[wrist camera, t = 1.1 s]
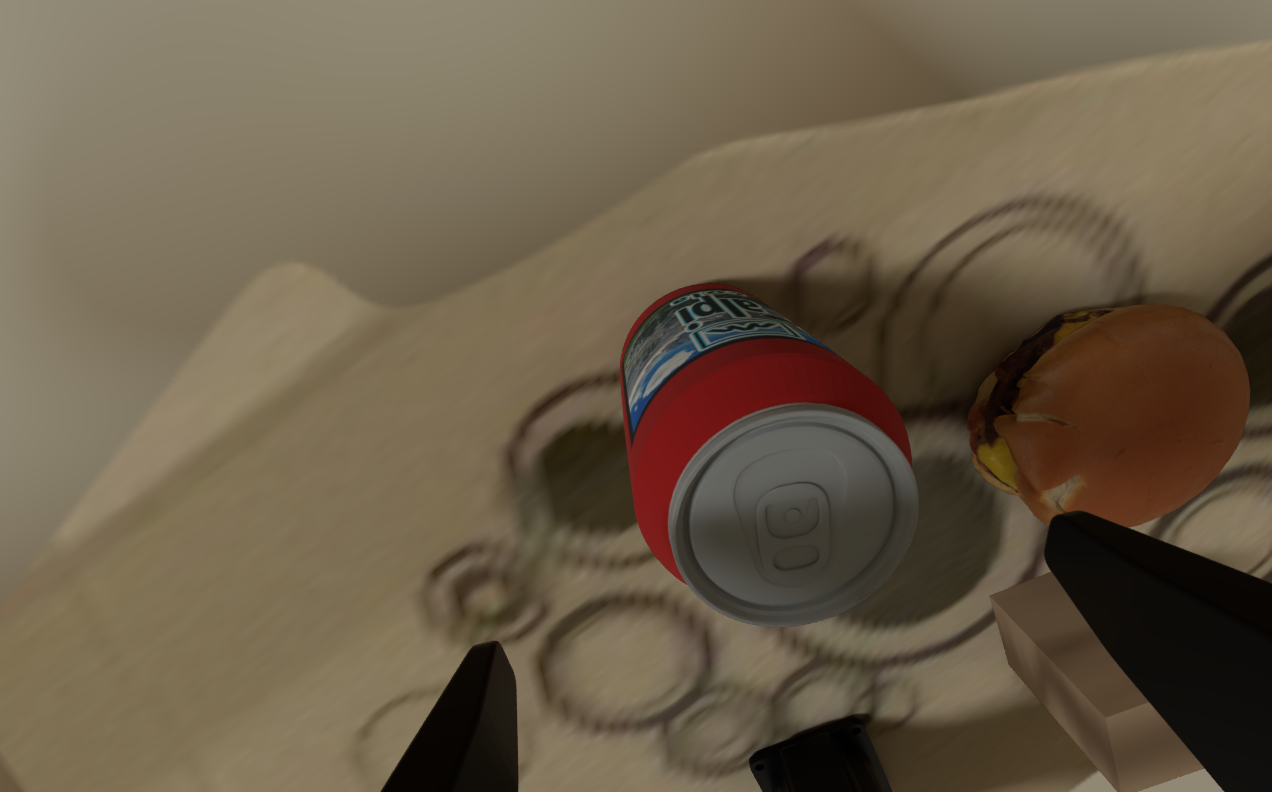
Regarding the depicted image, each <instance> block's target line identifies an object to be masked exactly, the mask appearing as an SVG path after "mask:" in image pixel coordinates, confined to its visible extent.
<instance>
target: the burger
mask: <svg viewBox="0 0 1272 792" xmlns="http://www.w3.org/2000/svg"><path fill="white" fill-rule="evenodd" d="M1249 404H1250V385H1249V378H1248V373H1247V370H1246V367H1245V365H1244V362H1243V359H1242V356H1241V353H1240V352H1239V350H1238V349H1237V348H1236V346H1235V345H1234V344H1233V342H1232V341H1231V340H1230V338H1229V337H1228V336H1227V334H1226V333H1225V332H1224V331H1223V330H1222V329H1220V328H1219V327H1218V326H1216V325H1215V324H1213V323H1212V322H1211V321H1209V320H1208V319H1207V318H1205V317H1204V316H1202V315H1201V314H1198V313H1196V312H1193V311H1190V310H1188V309H1185V308H1182V307H1176V306H1169V305H1163V304H1149V305H1131V306H1129V307H1116V308H1114V309H1113V308H1103V309H1095V310H1086V311H1080V312H1074V313H1067V314H1063V315H1059V316H1056V317H1055V318H1053V319H1052V320H1051V321H1049V322H1048V323H1047V324H1045V325H1044V326H1043V327H1041V328H1040V329H1038V330H1037V331H1036V332H1035V333H1034V334H1033V335H1032V336H1031V337H1030V338H1029V339H1028V340H1024V341H1023V342H1022V344H1021V345H1020V346H1019V347H1018V348H1017V349H1016V350H1015V351H1013V352H1011V353H1010V354H1009V355H1008V356H1007V357H1006V358H1005V359H1004V360H1003V361H1002V362H1001V363H1000V364H999V365H998V366H997V367H996V368H995V371H994V372H992V373H991V374H990V375H989V376H988V377H987V378H986V379H985V380H984V382H983V383H982V384H981V386H980V387H979V388H978V396H977V399H976V402H975V404H974V405H973V406H972V407H971V409H970V412H969V415H968V420H967V430H968V431H970V432H971V434H970V446H971V450H972V451H973V452H972V455H971V457H972V462H973V464H974V466H975V467H976V469H977V471H978V472H979V473H980V475H981V476H982V477H983V478H984V479H985V480H986V481H988V482H989V483H990V484H992V485H993V486H995V487H997V488H999V489H1001V490H1003V491H1004V492H1006V493H1009V494H1012V495H1017V496H1019V497H1020V498H1021V499H1022V500H1023V501H1024V503H1025V504H1026V505H1027V506H1028V507H1029V509H1030V510H1031V511H1032V513H1033V514H1034V516H1035V517H1037V518H1038V519H1039V520H1040V521H1042V522H1043V523H1045V524H1047V525H1050V521H1051V519H1052V518H1053V517H1054V516H1055V515H1058V514H1062V513H1067V512H1071V511H1076V510H1081V511H1085V512H1088V513H1091V514H1094V515H1096V516H1099V517H1101V518H1104V519H1107V520H1109V521H1112V522H1114V523H1117V524H1120V525H1122V526H1125V527H1127V528H1128V527H1133V526H1138V525H1141V524H1143V523H1146V522H1148V521H1151V520H1153V519H1156V518H1158V517H1160V516H1163V515H1165V514H1168V513H1170V512H1172V511H1174V510H1175V509H1177V508H1178V507H1180V506H1181V505H1183V504H1184V503H1186V502H1187V501H1189V500H1190V499H1192V498H1193V497H1195V496H1196V495H1198V494H1199V493H1200V492H1202V491H1203V490H1204V489H1205V488H1206V487H1207V486H1208V485H1209V484H1210V483H1211V482H1212V481H1213V480H1214V479H1215V478H1216V477H1217V475H1218V474H1219V473H1220V471H1221V470H1222V468H1223V467H1224V466H1225V464H1226V463H1227V462H1228V460H1229V459H1230V458H1231V456H1232V454H1233V453H1234V451H1235V450H1236V448H1237V446H1238V444H1239V442H1240V439H1241V437H1242V435H1243V431H1244V427H1245V424H1246V420H1247V416H1248V412H1249Z"/></svg>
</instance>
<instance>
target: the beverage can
mask: <svg viewBox="0 0 1272 792" xmlns="http://www.w3.org/2000/svg"><path fill="white" fill-rule="evenodd" d="M620 379H621V394H622V405H623V416H624V426H625V435H626V445H627V454H628V462H629V469H630V477H631V485H632V492H633V500H634V507H635V513H636V517H637V521H638V524H639V527H640V530H641V533H642V535H643V537H644V539H645V541H646V543H647V545H648V546H649V548H650V550H651V551H652V552H653V554H654V555H655V556H656V558H657V559H658V560H659V561H660V562H661V563H662V565H663V566H664V567H665V568H666V569H667V570H668V571H669V572H670V573H672V574H673V575H674V576H675V577H676V578H678V579H679V580H680V581H682V582H683V583H685V584H686V585H688V586H689V588H690V589H691V590H692V591H693V592H694V594H695V595H696V596H697V597H698V598H700V599H701V600H702V601H703V602H704V603H705V604H707V605H708V606H709V607H711V608H712V609H714V610H716V611H717V612H719V613H721V614H723V615H725V616H727V617H729V618H732V619H734V620H737V621H740V622H744V623H747V624H752V625H758V626H766V627H792V626H799V625H805V624H810V623H815V622H818V621H821V620H824V619H827V618H830V617H833V616H835V615H838V614H840V613H842V612H844V611H846V610H848V609H850V608H852V607H854V606H855V605H857V604H858V603H860V602H861V601H863V600H864V599H866V598H867V597H869V596H870V595H871V594H872V593H874V592H875V591H876V590H877V589H878V588H879V587H880V586H881V585H883V584H884V583H885V581H886V580H887V579H888V578H889V577H890V576H891V575H892V573H893V572H894V571H895V570H896V569H897V567H898V566H899V564H900V563H901V561H902V559H903V558H904V556H905V554H906V552H907V551H908V549H909V546H910V544H911V542H912V539H913V536H914V533H915V529H916V526H917V521H918V513H919V496H918V488H917V483H916V479H915V476H914V473H913V470H912V456H911V449H910V443H909V439H908V435H907V432H906V429H905V426H904V424H903V421H902V419H901V417H900V415H899V413H898V411H897V409H896V408H895V406H894V405H893V403H892V402H891V400H890V399H889V398H888V397H887V395H886V394H885V393H884V392H883V391H882V390H881V389H880V388H879V387H878V386H877V385H876V384H875V383H874V382H873V381H871V380H870V379H869V378H868V377H866V376H865V375H864V374H862V373H861V372H860V371H858V370H857V369H856V368H854V367H853V366H852V365H850V364H849V363H848V362H846V361H845V360H844V359H842V358H841V357H840V356H838V355H837V354H836V353H834V352H833V351H832V350H830V349H829V348H828V347H826V346H825V345H823V344H822V343H821V342H819V341H818V340H817V339H815V338H814V337H812V336H811V335H810V334H808V333H807V332H805V331H804V330H803V329H801V328H800V327H798V326H797V325H796V324H794V323H793V322H791V321H790V320H788V319H787V318H785V317H784V316H783V315H781V314H780V313H778V312H777V311H775V310H774V309H772V308H771V307H769V306H768V305H766V304H765V303H763V302H762V301H760V300H759V299H757V298H756V297H754V296H753V295H751V294H749V293H747V292H745V291H743V290H741V289H738V288H735V287H732V286H727V285H722V284H697V285H691V286H687V287H683V288H680V289H677V290H675V291H673V292H670V293H668V294H667V295H665V296H663V297H661V298H660V299H658V300H657V301H656V302H654V303H653V304H652V305H651V306H649V307H648V308H647V309H646V310H645V311H644V312H643V313H642V314H641V315H640V317H639V318H638V319H637V321H636V322H635V323H634V325H633V327H632V328H631V330H630V332H629V334H628V336H627V338H626V341H625V343H624V347H623V350H622V355H621V361H620Z"/></svg>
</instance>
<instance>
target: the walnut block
mask: <svg viewBox="0 0 1272 792" xmlns="http://www.w3.org/2000/svg"><path fill="white" fill-rule="evenodd" d="M990 599H991V603H992V607H993V610H994V614H995V617H996V621H997V624H998V628H999V631H1000V635H1001V639H1002V642H1003V646H1004V649H1005V653H1006V656H1007V660H1008V664H1009V665H1010V667H1011V668H1012V669H1013V670H1014V671H1015V672H1016V674H1017V675H1018V676H1019V677H1020V678H1021V679H1022V681H1023V682H1024V683H1025V684H1026V685H1027V687H1028V688H1029V689H1030V690H1031V691H1032V692H1033V694H1034V695H1035V696H1036V697H1037V698H1038V699H1039V701H1040V702H1041V703H1042V704H1043V705H1044V706H1045V708H1046V709H1047V710H1048V711H1049V712H1050V713H1051V715H1052V716H1053V717H1054V718H1055V719H1056V720H1057V722H1058V723H1059V724H1060V725H1061V726H1062V727H1063V729H1064V730H1065V731H1066V732H1067V733H1068V735H1069V736H1070V737H1071V738H1072V739H1073V740H1074V742H1075V743H1076V744H1077V745H1078V746H1079V747H1080V749H1081V750H1082V751H1083V752H1084V753H1085V754H1086V756H1087V757H1088V758H1089V759H1090V760H1091V761H1092V763H1093V764H1094V765H1095V766H1096V767H1097V768H1098V770H1099V771H1100V772H1101V773H1102V774H1103V775H1104V777H1105V778H1106V779H1107V780H1108V781H1109V782H1110V784H1111V785H1112V786H1113V787H1114V788H1115V789H1116V791H1117V792H1138V791H1141V790H1143V789H1146V788H1149V787H1152V786H1155V785H1158V784H1160V783H1163V782H1166V781H1169V780H1172V779H1175V778H1178V777H1181V776H1183V775H1186V774H1189V773H1192V772H1195V771H1198V770H1201V769H1204V767H1203V766H1202V765H1201V763H1200V762H1199V761H1198V760H1197V759H1196V758H1195V756H1194V755H1193V754H1192V753H1191V752H1190V750H1189V749H1188V748H1187V747H1186V746H1185V744H1184V743H1183V742H1182V741H1181V740H1180V738H1179V737H1178V736H1177V735H1176V734H1175V733H1174V731H1173V730H1172V729H1171V728H1170V727H1169V725H1168V724H1167V723H1166V722H1165V721H1164V719H1163V718H1162V717H1161V716H1160V715H1159V713H1158V712H1157V711H1156V710H1155V709H1154V708H1153V706H1152V705H1151V704H1150V703H1149V702H1148V700H1147V699H1146V698H1145V697H1144V696H1143V694H1142V693H1141V692H1140V691H1139V690H1138V688H1137V687H1136V686H1135V685H1134V684H1133V683H1132V681H1131V680H1130V679H1129V678H1128V677H1127V675H1126V674H1125V673H1124V672H1123V671H1122V669H1121V668H1120V667H1119V666H1118V664H1117V663H1116V662H1115V661H1114V659H1113V658H1112V657H1111V656H1110V654H1109V653H1108V652H1107V650H1106V649H1105V648H1104V646H1103V645H1102V644H1101V642H1100V641H1099V639H1098V638H1097V637H1096V635H1095V634H1094V632H1093V631H1092V629H1091V628H1090V626H1089V625H1088V624H1087V622H1086V621H1085V619H1084V618H1083V616H1082V615H1081V614H1080V612H1079V611H1078V609H1077V608H1076V606H1075V605H1074V603H1073V602H1072V601H1071V599H1070V598H1069V596H1068V595H1067V593H1066V592H1065V591H1064V589H1063V588H1062V586H1061V585H1060V583H1059V582H1058V580H1057V579H1056V578H1055V576H1054V575H1053V573H1052V572H1049V573H1047V574H1044V575H1042V576H1039V577H1036V578H1034V579H1031V580H1029V581H1026V582H1024V583H1021V584H1018V585H1016V586H1013V587H1011V588H1008V589H1006V590H1003V591H1000V592H998V593H995V594H993V595H990Z"/></svg>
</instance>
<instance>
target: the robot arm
mask: <svg viewBox="0 0 1272 792" xmlns="http://www.w3.org/2000/svg"><path fill="white" fill-rule="evenodd" d="M1044 556H1045V560H1046V563H1047V565H1048V567H1049V569H1050V570H1051V572H1052V573H1053V575H1054V576H1055V578H1056V579H1057V580H1058V582H1059V583H1060V585H1061V586H1062V588H1063V589H1064V591H1065V592H1066V593H1067V595H1068V596H1069V598H1070V599H1071V601H1072V602H1073V603H1074V605H1075V606H1076V608H1077V609H1078V611H1079V612H1080V614H1081V615H1082V616H1083V618H1084V619H1085V621H1086V622H1087V624H1088V625H1089V626H1090V628H1091V629H1092V631H1093V632H1094V634H1095V635H1096V637H1097V638H1098V639H1099V641H1100V642H1101V644H1102V645H1103V646H1104V648H1105V649H1106V650H1107V652H1108V653H1109V654H1110V656H1111V657H1112V658H1113V659H1114V661H1115V662H1116V663H1117V664H1118V666H1119V667H1120V668H1121V669H1122V671H1123V672H1124V673H1125V674H1126V675H1127V677H1128V678H1129V679H1130V680H1131V681H1132V683H1133V684H1134V685H1135V686H1136V687H1137V688H1138V690H1139V691H1140V692H1141V693H1142V694H1143V696H1144V697H1145V698H1146V699H1147V700H1148V702H1149V703H1150V704H1151V705H1152V706H1153V708H1154V709H1155V710H1156V711H1157V712H1158V713H1159V715H1160V716H1161V717H1162V718H1163V719H1164V721H1165V722H1166V723H1167V724H1168V725H1169V727H1170V728H1171V729H1172V730H1173V731H1174V733H1175V734H1176V735H1177V736H1178V737H1179V738H1180V740H1181V741H1182V742H1183V743H1184V744H1185V746H1186V747H1187V748H1188V749H1189V750H1190V752H1191V753H1192V754H1193V755H1194V756H1195V758H1196V759H1197V760H1198V761H1199V762H1200V763H1201V765H1202V766H1203V767H1204V768H1205V769H1206V771H1207V772H1208V773H1209V774H1210V775H1211V776H1212V778H1213V779H1214V780H1215V781H1216V783H1217V784H1218V785H1219V786H1220V787H1221V788H1222V790H1223V791H1224V792H1272V583H1270V582H1267V581H1265V580H1262V579H1260V578H1257V577H1254V576H1252V575H1249V574H1247V573H1244V572H1241V571H1239V570H1236V569H1234V568H1231V567H1228V566H1226V565H1223V564H1221V563H1218V562H1216V561H1213V560H1210V559H1208V558H1205V557H1203V556H1200V555H1197V554H1195V553H1192V552H1190V551H1187V550H1184V549H1182V548H1179V547H1177V546H1174V545H1171V544H1169V543H1166V542H1164V541H1161V540H1159V539H1156V538H1153V537H1151V536H1148V535H1146V534H1143V533H1140V532H1138V531H1135V530H1133V529H1130V528H1127V527H1125V526H1122V525H1120V524H1117V523H1114V522H1112V521H1109V520H1107V519H1104V518H1101V517H1099V516H1096V515H1094V514H1091V513H1088V512H1085V511H1081V510H1076V511H1071V512H1067V513H1062V514H1058V515H1055V516H1054V517H1053V518H1052V519H1051V521H1050V525H1049V530H1048V535H1047V539H1046V544H1045V549H1044ZM749 764H750V768H751V771H752V773H753V775H754V777H755V779H756V780H757V782H758V784H759V786H760V788H761V789H762V791H763V792H892V790H891V787H890V785H889V783H888V780H887V778H886V776H885V773H884V771H883V769H882V766H881V764H880V762H879V759H878V757H877V755H876V752H875V750H874V748H873V745H872V743H871V741H870V738H869V736H868V734H867V731H866V729H865V727H864V725H863V723H862V721H861V720H860V719H859V718H850V719H848V720H845V721H842V722H840V723H837V724H834V725H832V726H829V727H826V728H824V729H821V730H819V731H816V732H813V733H811V734H808V735H805V736H803V737H800V738H797V739H795V740H792V741H789V742H787V743H784V744H781V745H779V746H776V747H774V748H771V749H768V750H766V751H763V752H760V753H758V754H755V755H753V756H751V758H750V759H749ZM381 792H518V735H517V690H516V679H515V675H514V672H513V669H512V667H511V665H510V663H509V661H508V658H507V656H506V654H505V652H504V650H503V648H502V646H501V644H500V643H499V642H498V641H490V642H486V643H481V644H477V645H474V646H473V647H472V648H471V649H470V650H469V651H468V653H467V655H466V656H465V658H464V659H463V661H462V663H461V664H460V666H459V667H458V669H457V671H456V672H455V674H454V675H453V677H452V678H451V680H450V682H449V683H448V685H447V686H446V688H445V690H444V691H443V693H442V694H441V696H440V698H439V699H438V701H437V702H436V704H435V706H434V707H433V709H432V710H431V712H430V714H429V715H428V717H427V718H426V720H425V721H424V723H423V725H422V726H421V728H420V729H419V731H418V733H417V734H416V736H415V737H414V739H413V741H412V742H411V744H410V745H409V747H408V749H407V750H406V752H405V753H404V755H403V756H402V758H401V760H400V761H399V763H398V764H397V766H396V768H395V769H394V771H393V772H392V774H391V776H390V777H389V779H388V780H387V782H386V784H385V785H384V787H383V788H382V790H381Z"/></svg>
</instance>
